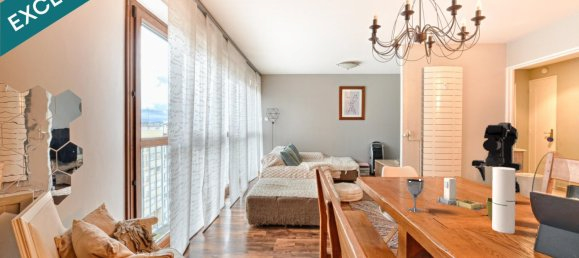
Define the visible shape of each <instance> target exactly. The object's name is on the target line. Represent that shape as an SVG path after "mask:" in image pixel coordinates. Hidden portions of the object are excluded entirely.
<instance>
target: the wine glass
mask: <svg viewBox="0 0 579 258" xmlns="http://www.w3.org/2000/svg"><path fill="white" fill-rule="evenodd" d="M424 186H425V181H424V180H423V179H420V178H407V179H406V189H407V192H408V193H409V194H410V196H412V199H413V207H409V208H407V211H409V212H412V213H423V212H424V210H423V209H420V208H417V200H418V197H419V196H420V195H421V194H422V193H423V192H424Z"/></svg>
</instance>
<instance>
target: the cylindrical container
mask: <svg viewBox="0 0 579 258" xmlns="http://www.w3.org/2000/svg"><path fill="white" fill-rule="evenodd" d="M515 176H516V172H515V169H513V168H506V167H492V197H491V198H492V221H491V223H492V224H491V225H492V226H491V227H492V230H494V231H495V232H497V233H498V232H499V233H502V234H508V235H509V234H515V233H516V203H515V201H516V192H515V190H516V189H515Z"/></svg>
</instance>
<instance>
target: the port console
mask: <svg viewBox="0 0 579 258" xmlns="http://www.w3.org/2000/svg"><path fill="white" fill-rule="evenodd" d="M435 203H439V204H443V205H448V206H453V207H458V208H463V209H468V210H474V211H481V210H482V209H484V208H485V207H486V208H487V205H486V206H485V205H483V202H479V201H478V202H477V201H474V200H470V199H463V200H462V199H459V198H456V200H447V199H444V196H437V201H435Z"/></svg>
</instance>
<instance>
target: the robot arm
mask: <svg viewBox="0 0 579 258" xmlns="http://www.w3.org/2000/svg"><path fill="white" fill-rule="evenodd" d="M483 139H486V140H484V142H483V143H482V147H483V150H485V151H486V152H487V157H485V160H482V159H474V160H471V166H472V167H474V168H475V169H477V170H478V172H479V174H480V175H481V178H482V181H483V182H485V181H486V167H492V168H493V167H506V168H513V169H515V173H516V172H518V171H521V170H522V163H519V162H514V146H515V145H516V143H517V140H518V139H519V132H518V129H517V127H514V126H513V125H512V122H499V123H498V124H488V125H487V126H486V127H485V131H484V135H483ZM485 166H486V167H485ZM520 187H521V186H520V184H519V181H518V180H517V176H516V175H515V194H516V193H517V194H518V193H521V188H520ZM516 202H517V203H518V201H517V200H515V204H517V203H516Z"/></svg>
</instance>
